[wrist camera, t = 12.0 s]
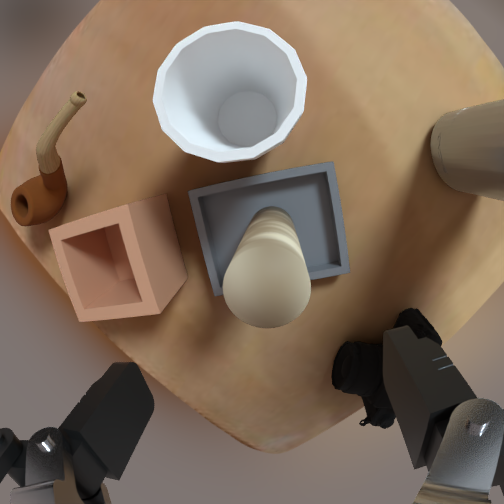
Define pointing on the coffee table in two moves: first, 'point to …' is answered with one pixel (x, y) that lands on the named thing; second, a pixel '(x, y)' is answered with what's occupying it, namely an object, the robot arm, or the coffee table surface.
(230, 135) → the foam cup
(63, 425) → the robot arm
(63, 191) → the smoking pipe
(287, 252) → the maple dowel
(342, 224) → the tray
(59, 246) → the deep box
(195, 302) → the coffee table surface
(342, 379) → the film camera
